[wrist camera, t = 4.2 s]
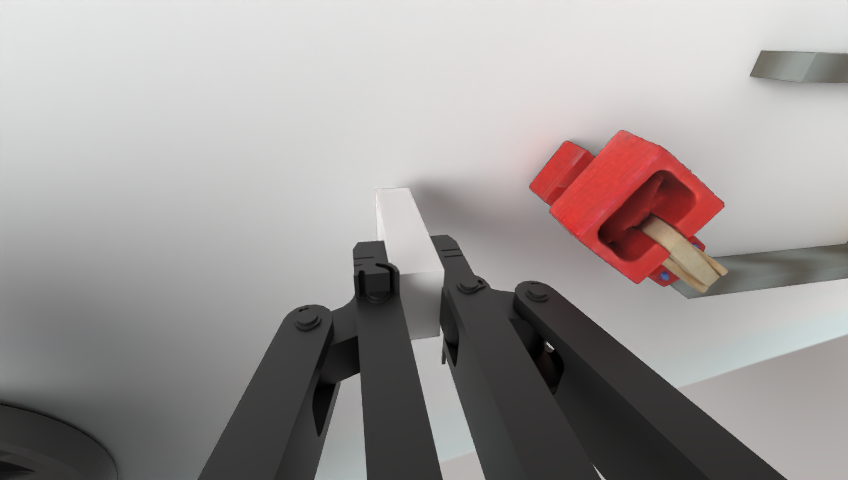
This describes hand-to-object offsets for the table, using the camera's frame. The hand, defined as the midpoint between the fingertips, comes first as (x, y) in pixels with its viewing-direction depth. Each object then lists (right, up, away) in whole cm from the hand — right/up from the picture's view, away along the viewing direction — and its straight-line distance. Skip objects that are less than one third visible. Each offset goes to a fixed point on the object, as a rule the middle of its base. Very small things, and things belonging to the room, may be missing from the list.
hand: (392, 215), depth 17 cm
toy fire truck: (+10, +2, +4) cm, 11 cm away
